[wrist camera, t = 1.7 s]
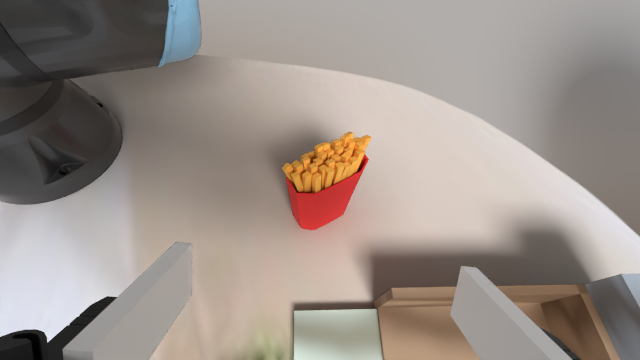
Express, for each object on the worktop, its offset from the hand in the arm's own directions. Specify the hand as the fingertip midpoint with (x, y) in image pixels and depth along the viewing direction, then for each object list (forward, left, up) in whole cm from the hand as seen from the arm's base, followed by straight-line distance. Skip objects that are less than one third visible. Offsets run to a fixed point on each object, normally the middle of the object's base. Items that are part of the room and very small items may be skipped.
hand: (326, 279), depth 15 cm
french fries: (-12, +1, -17) cm, 21 cm away
